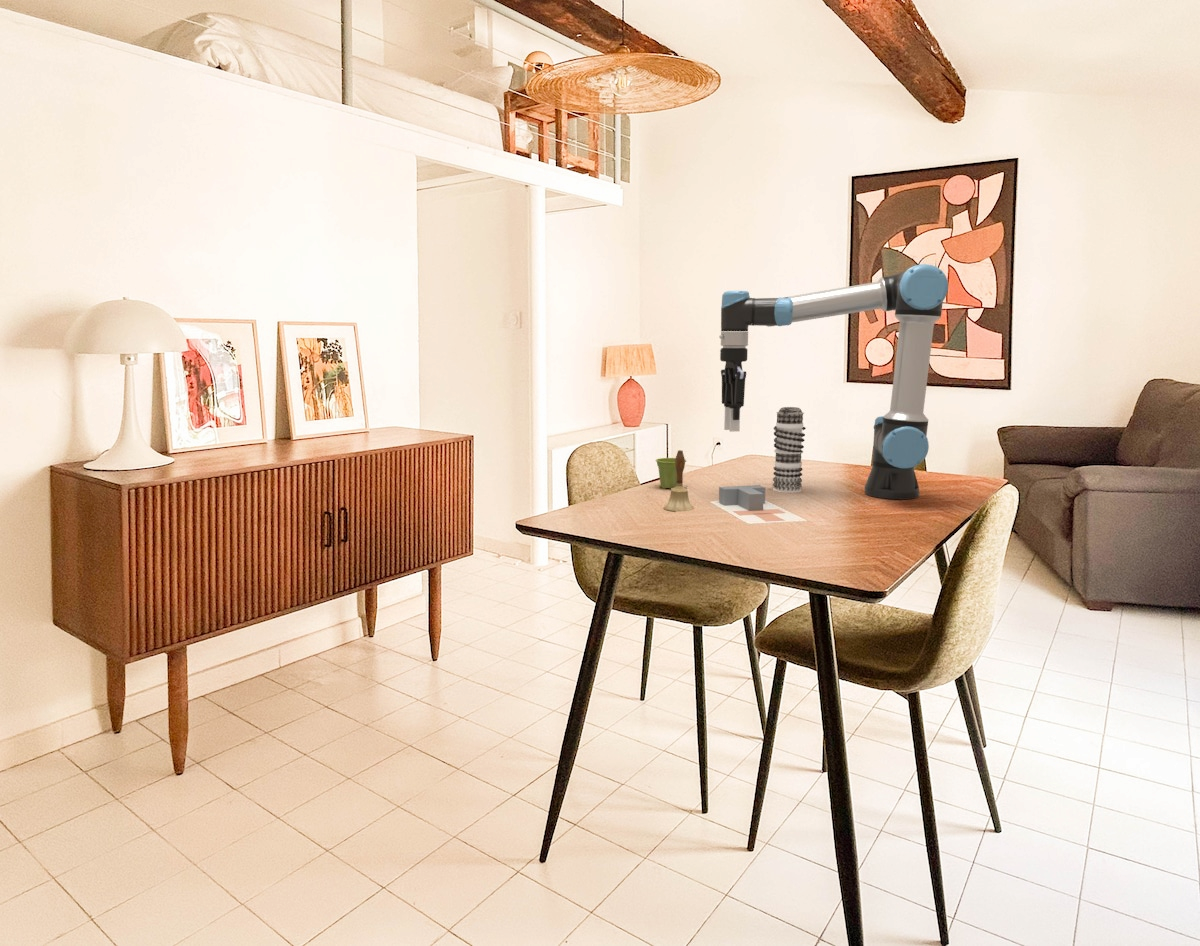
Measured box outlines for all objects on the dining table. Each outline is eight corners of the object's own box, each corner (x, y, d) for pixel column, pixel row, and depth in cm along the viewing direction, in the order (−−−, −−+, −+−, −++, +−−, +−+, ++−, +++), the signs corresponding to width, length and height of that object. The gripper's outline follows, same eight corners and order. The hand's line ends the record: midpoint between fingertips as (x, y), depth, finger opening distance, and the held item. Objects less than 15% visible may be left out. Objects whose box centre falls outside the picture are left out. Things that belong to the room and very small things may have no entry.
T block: (759, 500, 235) (759, 485, 234) (777, 509, 223) (777, 493, 223) (718, 502, 232) (719, 486, 232) (734, 511, 221) (735, 494, 220)
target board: (762, 499, 237) (762, 499, 237) (807, 521, 210) (807, 520, 210) (709, 502, 234) (709, 501, 234) (748, 524, 207) (748, 523, 207)
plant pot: (649, 486, 259) (650, 458, 257) (676, 483, 262) (676, 456, 261) (664, 491, 250) (665, 462, 249) (691, 488, 254) (692, 460, 253)
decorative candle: (778, 486, 258) (781, 405, 254) (807, 489, 253) (811, 407, 249) (766, 490, 251) (769, 408, 247) (795, 494, 245) (798, 409, 241)
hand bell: (700, 508, 226) (701, 450, 223) (681, 513, 220) (682, 453, 217) (676, 504, 232) (677, 447, 229) (657, 508, 226) (657, 450, 223)
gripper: (711, 346, 240) (709, 427, 244) (732, 347, 225) (729, 434, 229) (735, 346, 242) (733, 426, 246) (758, 347, 226) (755, 433, 230)
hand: (731, 430), depth 237 cm, fingers open, 3 cm apart
